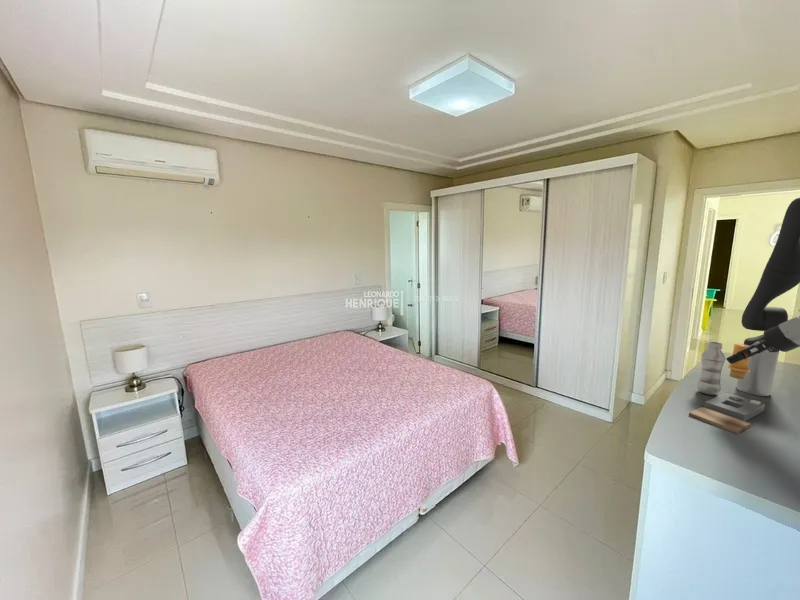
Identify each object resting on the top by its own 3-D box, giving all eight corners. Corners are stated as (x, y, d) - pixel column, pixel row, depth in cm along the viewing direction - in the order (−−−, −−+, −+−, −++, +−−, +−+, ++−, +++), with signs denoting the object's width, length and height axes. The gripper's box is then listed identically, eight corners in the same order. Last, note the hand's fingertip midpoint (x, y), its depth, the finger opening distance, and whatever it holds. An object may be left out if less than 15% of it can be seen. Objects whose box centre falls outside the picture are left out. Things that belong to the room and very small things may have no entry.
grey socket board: (725, 398, 121) (726, 390, 120) (763, 410, 112) (765, 402, 112) (703, 408, 114) (705, 400, 113) (743, 422, 105) (745, 413, 104)
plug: (730, 372, 113) (735, 342, 111) (750, 378, 109) (756, 346, 107) (724, 375, 111) (729, 344, 109) (744, 381, 107) (750, 348, 105)
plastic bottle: (724, 398, 121) (733, 346, 118) (703, 396, 123) (711, 345, 120) (711, 390, 128) (719, 341, 124) (691, 389, 129) (699, 340, 126)
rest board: (701, 409, 113) (702, 406, 113) (750, 426, 103) (750, 423, 102) (688, 415, 109) (689, 412, 109) (737, 433, 99) (738, 430, 98)
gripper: (789, 320, 103) (731, 347, 116) (771, 326, 97) (712, 353, 110) (812, 341, 99) (749, 366, 112) (795, 348, 93) (731, 374, 106)
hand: (731, 359), depth 111 cm, fingers closed on plug, 4 cm apart
